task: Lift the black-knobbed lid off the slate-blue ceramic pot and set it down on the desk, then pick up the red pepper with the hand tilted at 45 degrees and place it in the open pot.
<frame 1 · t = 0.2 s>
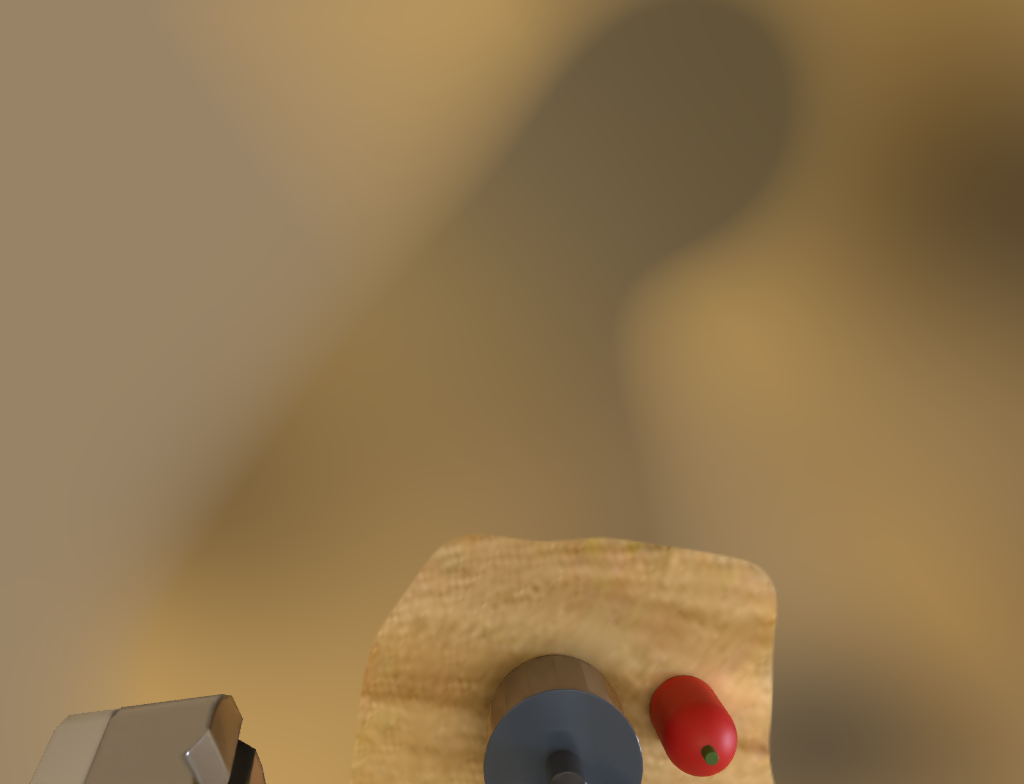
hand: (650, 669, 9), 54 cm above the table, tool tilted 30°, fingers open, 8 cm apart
pot lid: (562, 764, 56), point 7 cm above the table, touching pot
pot: (554, 720, 63), on the table
pepper: (683, 709, 63), on the table
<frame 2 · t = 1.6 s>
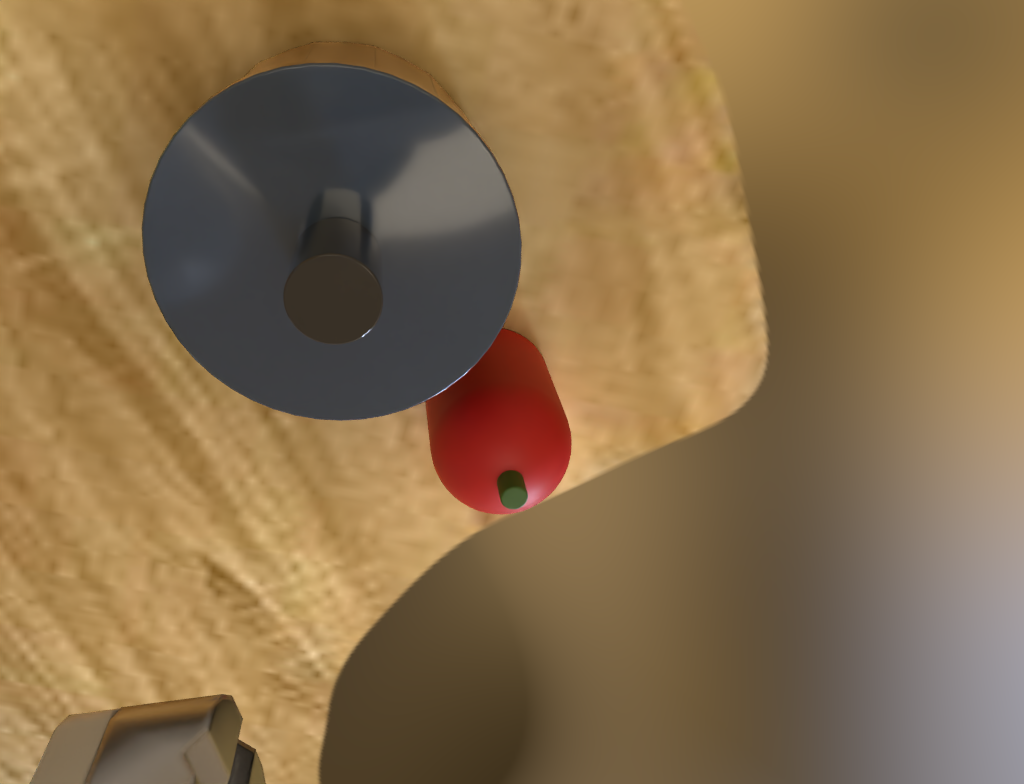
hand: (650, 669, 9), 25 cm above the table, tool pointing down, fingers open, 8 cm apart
pot lid: (339, 252, 24), point 7 cm above the table, touching pot
pot: (346, 187, 30), on the table
pepper: (486, 384, 35), on the table
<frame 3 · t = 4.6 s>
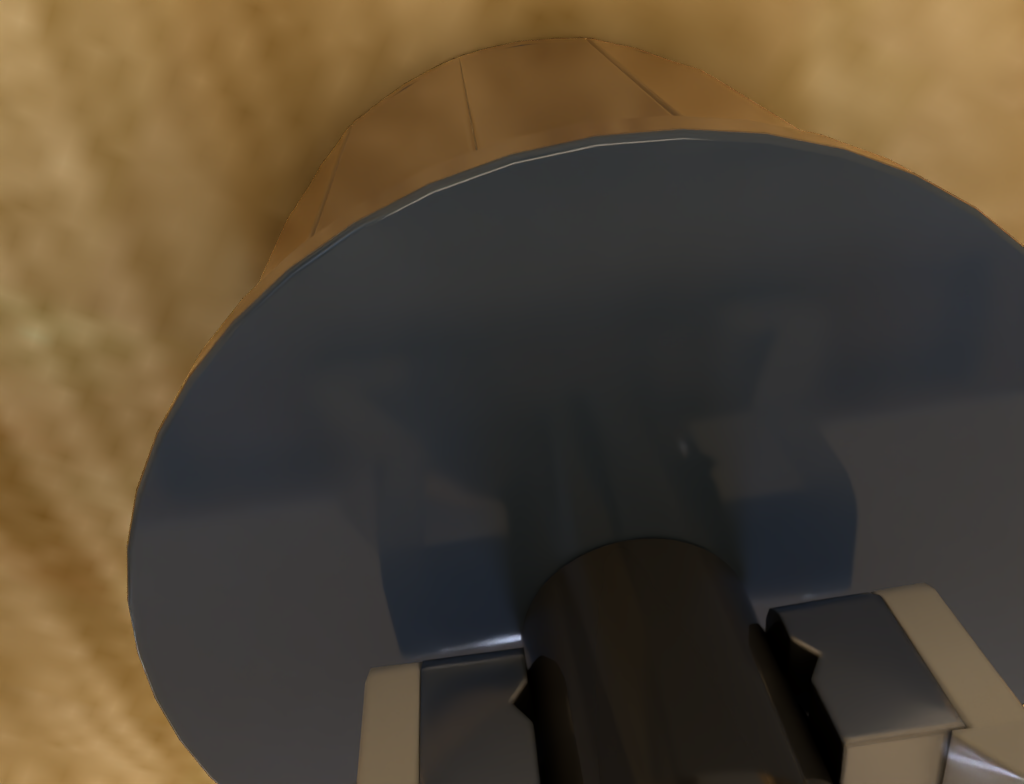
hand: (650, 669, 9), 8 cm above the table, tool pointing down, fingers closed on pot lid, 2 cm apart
pot lid: (624, 586, 10), point 7 cm above the table, touching gripper, pot
pot: (551, 321, 16), on the table
when the fingers open (2 cm above the table, at t = 13.2 s): pot lid stays where it is, point 1 cm above the table.
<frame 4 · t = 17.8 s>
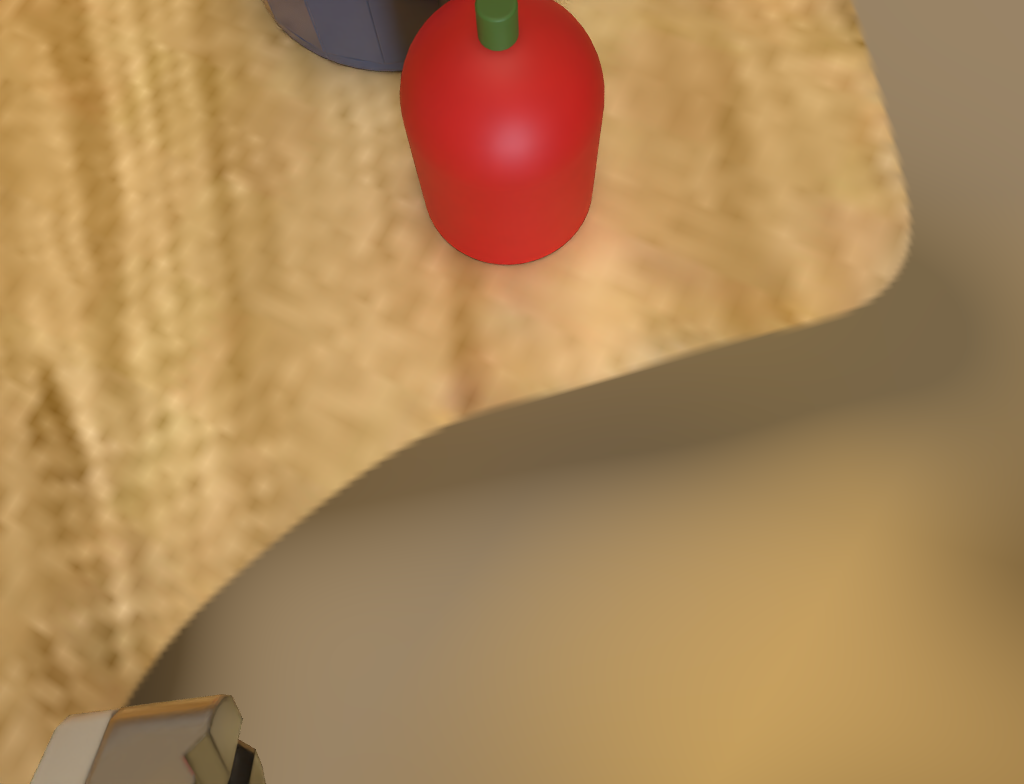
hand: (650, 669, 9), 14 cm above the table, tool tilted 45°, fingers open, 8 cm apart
pepper: (508, 186, 26), on the table
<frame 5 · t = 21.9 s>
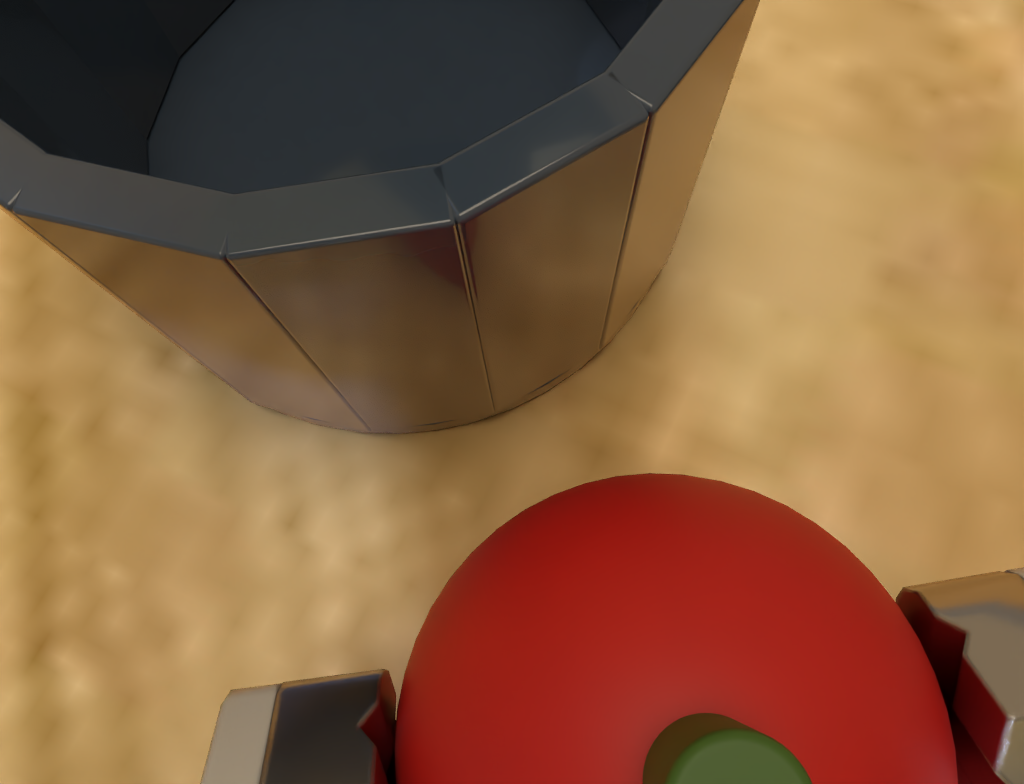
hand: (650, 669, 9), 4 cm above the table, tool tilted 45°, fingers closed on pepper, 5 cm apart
pot: (402, 164, 15), on the table
pepper: (619, 699, 13), on the table, touching gripper
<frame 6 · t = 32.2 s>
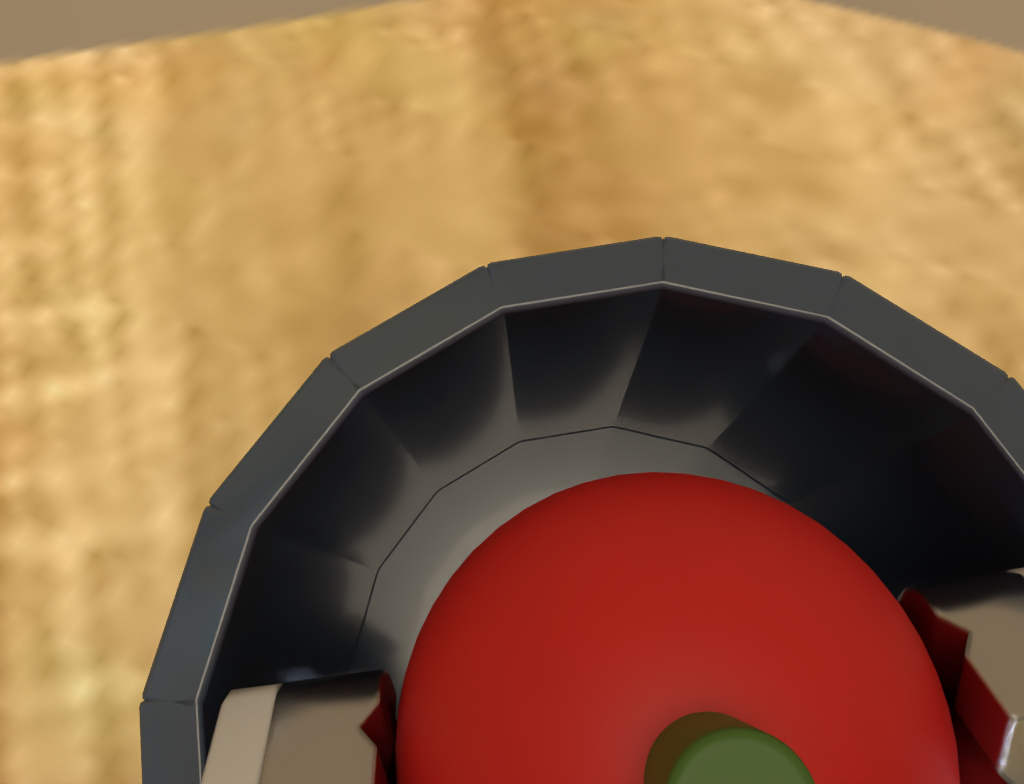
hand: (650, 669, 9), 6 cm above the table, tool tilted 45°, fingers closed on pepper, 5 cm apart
pot: (607, 680, 15), on the table
pepper: (619, 698, 13), point 2 cm above the table, touching gripper
when the fingers open (8 cm above the table, at t = 37.2 s): pepper drops 2 cm, resting on pot.
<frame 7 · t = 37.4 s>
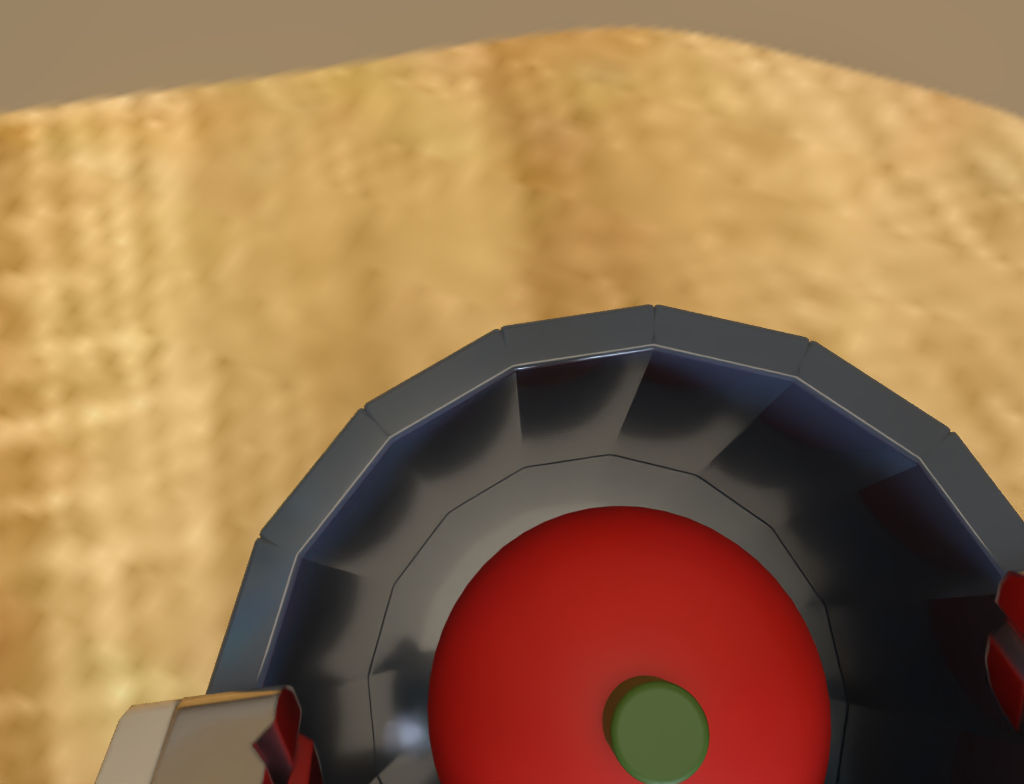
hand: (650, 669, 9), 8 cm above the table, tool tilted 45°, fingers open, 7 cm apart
pot: (603, 688, 16), on the table
pepper: (598, 681, 16), resting on pot
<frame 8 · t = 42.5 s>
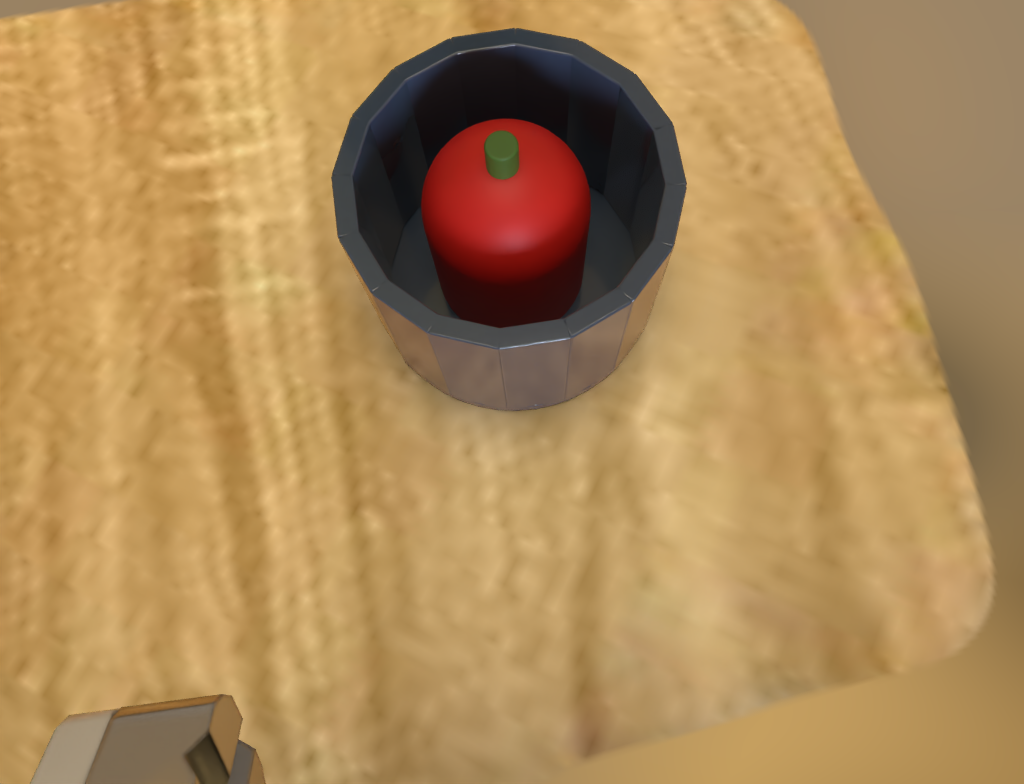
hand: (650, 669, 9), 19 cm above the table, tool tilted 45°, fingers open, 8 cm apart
pot: (514, 278, 30), on the table
pepper: (510, 269, 30), resting on pot
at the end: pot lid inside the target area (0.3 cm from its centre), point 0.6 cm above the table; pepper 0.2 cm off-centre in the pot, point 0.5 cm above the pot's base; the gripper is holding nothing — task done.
